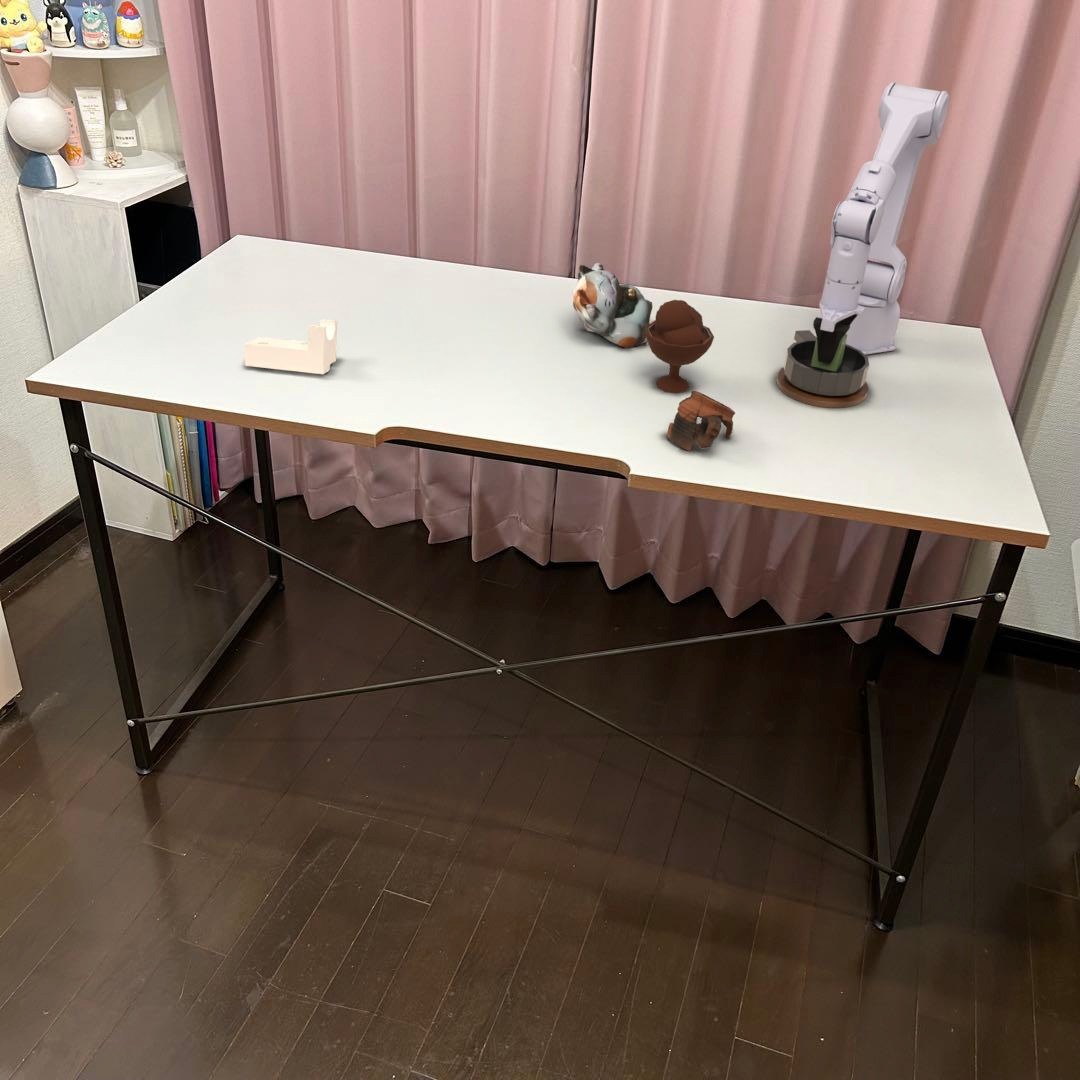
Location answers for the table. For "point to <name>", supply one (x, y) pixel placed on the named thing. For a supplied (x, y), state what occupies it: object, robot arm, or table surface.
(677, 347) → the ice cream bowl
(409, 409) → the table surface
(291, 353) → the bracket
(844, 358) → the grey frying pan
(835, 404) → the lazy susan
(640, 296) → the lucky cat figurine
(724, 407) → the pottery mug
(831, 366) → the block
